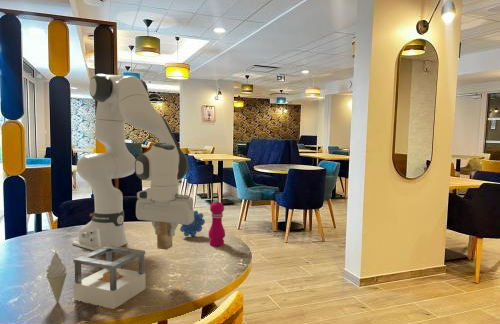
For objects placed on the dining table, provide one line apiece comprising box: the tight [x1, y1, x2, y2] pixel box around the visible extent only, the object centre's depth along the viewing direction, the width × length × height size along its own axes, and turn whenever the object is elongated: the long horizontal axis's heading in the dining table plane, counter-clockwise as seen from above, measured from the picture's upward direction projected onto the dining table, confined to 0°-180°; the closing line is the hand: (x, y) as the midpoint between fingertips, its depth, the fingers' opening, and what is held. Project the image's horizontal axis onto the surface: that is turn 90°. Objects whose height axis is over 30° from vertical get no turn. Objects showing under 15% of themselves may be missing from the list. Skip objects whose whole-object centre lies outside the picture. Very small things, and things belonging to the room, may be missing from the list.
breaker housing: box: [73, 267, 146, 310], centre depth 108 cm, size 14×14×5 cm
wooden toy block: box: [156, 221, 173, 251], centre depth 119 cm, size 4×4×9 cm
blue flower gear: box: [179, 210, 206, 237], centre depth 169 cm, size 12×7×12 cm, turn 112°
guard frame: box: [72, 245, 146, 291], centre depth 107 cm, size 14×14×7 cm
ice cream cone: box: [45, 250, 68, 303], centre depth 102 cm, size 5×5×15 cm
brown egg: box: [103, 271, 119, 282], centre depth 108 cm, size 4×4×5 cm
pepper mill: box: [208, 198, 226, 247], centre depth 157 cm, size 7×7×20 cm
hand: (164, 235), depth 119 cm, fingers closed on wooden toy block, 3 cm apart
